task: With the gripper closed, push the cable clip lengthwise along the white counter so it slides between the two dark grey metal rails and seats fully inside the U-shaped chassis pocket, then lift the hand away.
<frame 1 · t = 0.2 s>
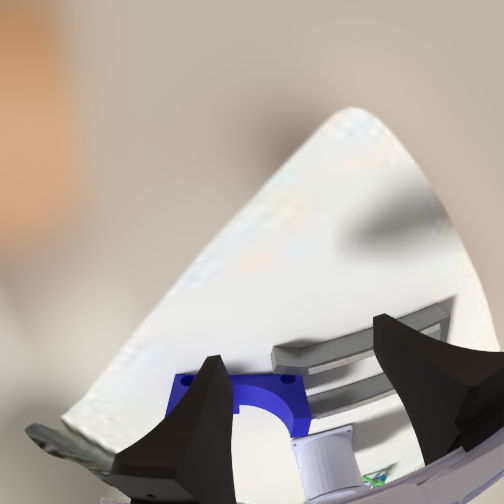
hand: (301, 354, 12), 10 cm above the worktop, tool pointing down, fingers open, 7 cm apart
cable clip: (238, 388, 26), on the worktop
chassis pocket: (369, 359, 25), on the worktop
blue knobby toy: (366, 480, 37), on the worktop
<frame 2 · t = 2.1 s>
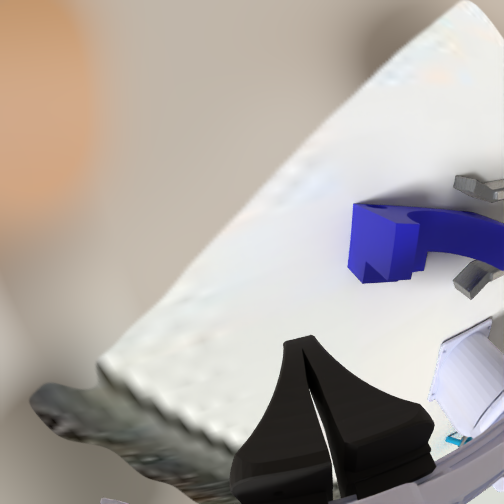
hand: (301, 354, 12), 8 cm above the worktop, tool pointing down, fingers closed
cable clip: (417, 235, 19), on the worktop
blue knobby toy: (460, 428, 31), on the worktop
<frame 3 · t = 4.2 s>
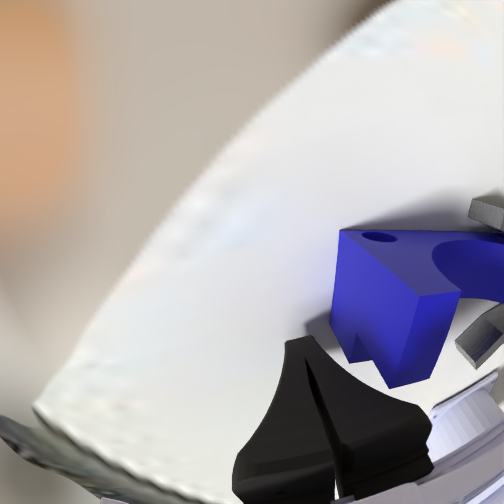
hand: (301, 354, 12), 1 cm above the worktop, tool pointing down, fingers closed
cable clip: (436, 271, 12), on the worktop, touching gripper
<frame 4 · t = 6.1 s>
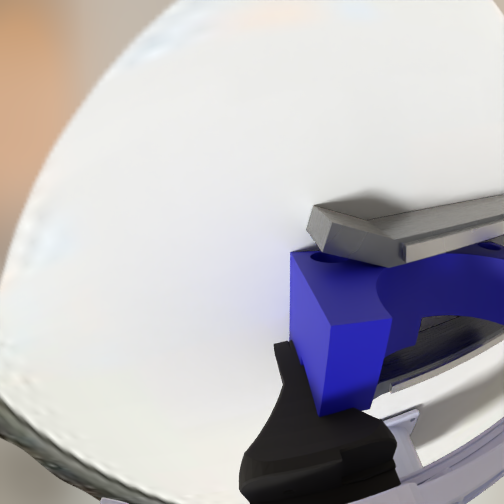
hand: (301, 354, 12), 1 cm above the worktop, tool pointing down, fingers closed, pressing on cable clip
cable clip: (407, 288, 12), resting in chassis pocket, touching gripper
chassis pocket: (472, 270, 12), on the worktop
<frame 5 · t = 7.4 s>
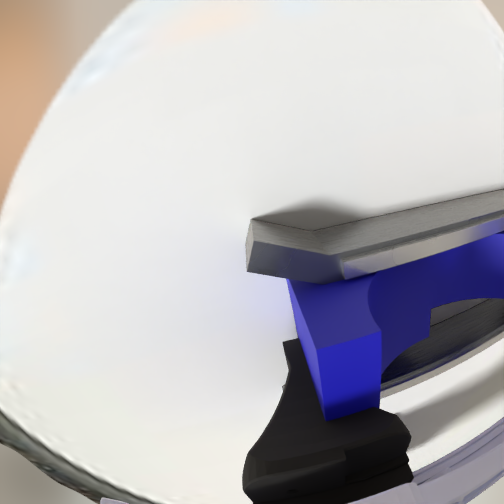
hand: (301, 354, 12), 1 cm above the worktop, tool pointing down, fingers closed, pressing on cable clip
cable clip: (412, 281, 12), resting in chassis pocket, touching gripper
chassis pocket: (444, 277, 12), on the worktop
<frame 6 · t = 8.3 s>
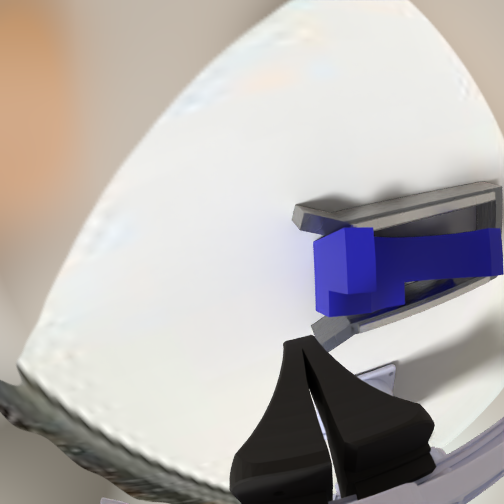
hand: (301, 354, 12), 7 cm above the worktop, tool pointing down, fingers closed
cable clip: (392, 271, 18), point 1 cm above the worktop, touching chassis pocket
chassis pocket: (418, 246, 19), on the worktop
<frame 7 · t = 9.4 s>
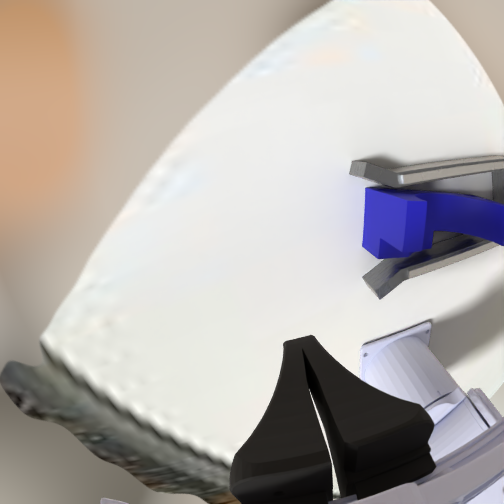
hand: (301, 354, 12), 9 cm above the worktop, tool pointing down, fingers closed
cable clip: (423, 216, 20), resting in chassis pocket
chassis pocket: (448, 206, 20), on the worktop
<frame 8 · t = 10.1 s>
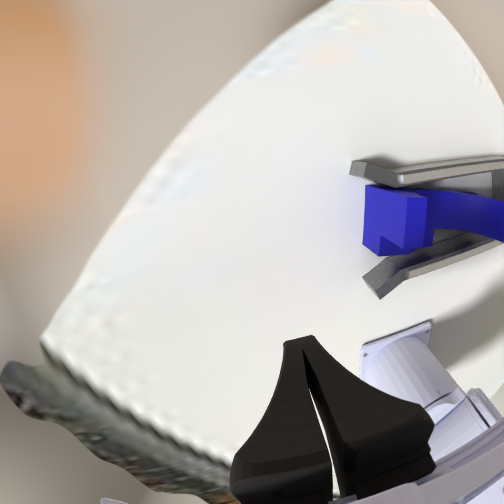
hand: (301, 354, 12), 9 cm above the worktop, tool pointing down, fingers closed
cable clip: (423, 214, 20), resting in chassis pocket
chassis pocket: (448, 206, 20), on the worktop
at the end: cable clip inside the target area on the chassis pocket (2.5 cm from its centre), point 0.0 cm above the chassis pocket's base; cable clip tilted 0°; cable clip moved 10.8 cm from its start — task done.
